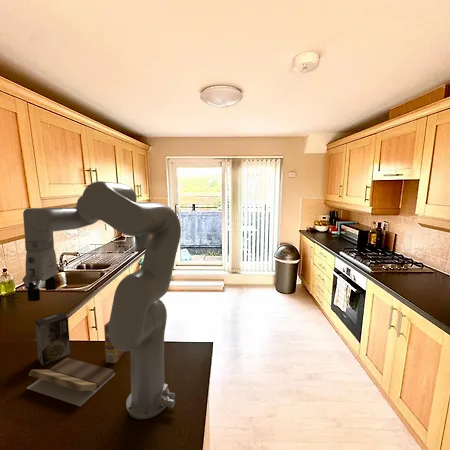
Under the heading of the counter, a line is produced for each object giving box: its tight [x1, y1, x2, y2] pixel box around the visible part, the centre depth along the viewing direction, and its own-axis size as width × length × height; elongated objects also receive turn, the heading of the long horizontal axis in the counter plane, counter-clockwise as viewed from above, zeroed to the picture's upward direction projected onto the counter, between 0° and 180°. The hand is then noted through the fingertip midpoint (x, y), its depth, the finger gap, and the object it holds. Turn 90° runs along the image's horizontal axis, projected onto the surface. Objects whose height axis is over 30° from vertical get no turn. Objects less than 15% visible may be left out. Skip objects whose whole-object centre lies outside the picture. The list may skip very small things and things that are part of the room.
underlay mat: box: [26, 372, 116, 407], centre depth 79 cm, size 22×14×1 cm, turn 73°
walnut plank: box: [49, 357, 115, 388], centre depth 83 cm, size 21×6×2 cm, turn 73°
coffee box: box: [34, 312, 71, 366], centre depth 91 cm, size 9×6×16 cm
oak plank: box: [28, 369, 97, 391], centre depth 76 cm, size 21×6×2 cm
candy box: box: [103, 321, 126, 364], centre depth 92 cm, size 9×4×15 cm, turn 176°
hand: (43, 295), depth 81 cm, fingers open, 9 cm apart
